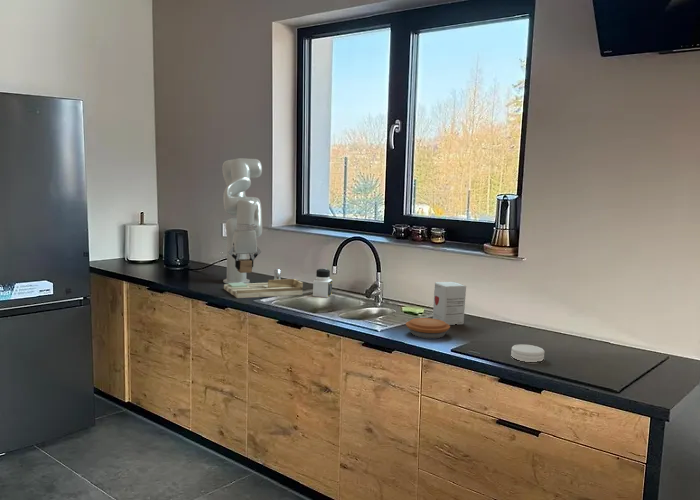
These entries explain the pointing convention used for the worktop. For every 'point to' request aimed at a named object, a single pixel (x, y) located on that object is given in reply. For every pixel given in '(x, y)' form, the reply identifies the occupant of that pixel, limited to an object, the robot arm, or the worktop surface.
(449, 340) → the worktop surface
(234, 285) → the pad
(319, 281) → the medicine bottle
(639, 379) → the worktop surface
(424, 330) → the pie
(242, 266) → the walnut cube
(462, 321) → the supplement box
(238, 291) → the board
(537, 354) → the white round container
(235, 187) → the robot arm
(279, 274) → the grey metal peg
